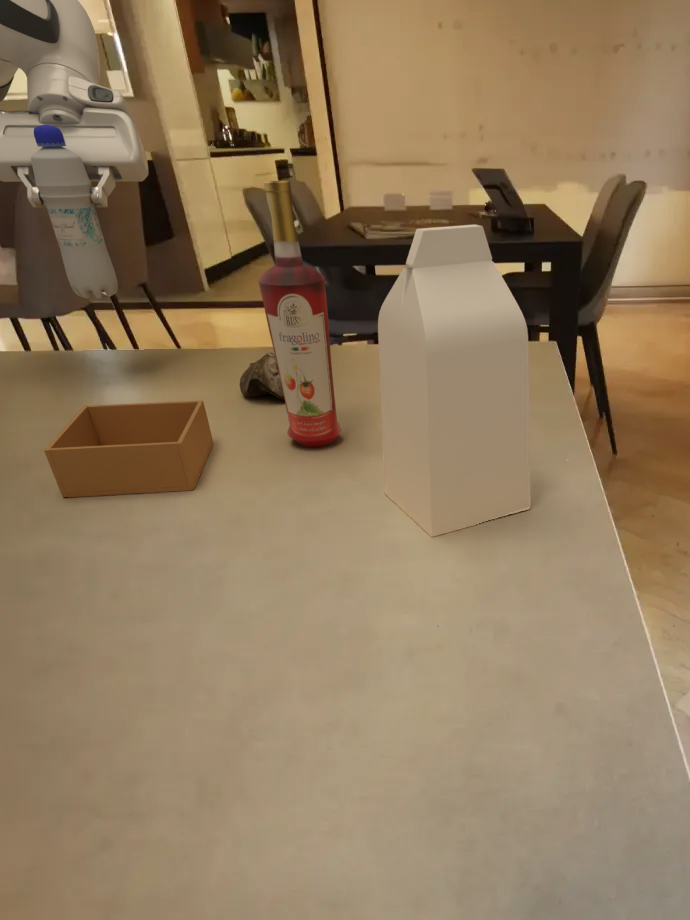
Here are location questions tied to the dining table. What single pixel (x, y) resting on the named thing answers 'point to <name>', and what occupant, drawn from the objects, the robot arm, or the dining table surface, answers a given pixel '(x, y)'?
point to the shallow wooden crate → (131, 449)
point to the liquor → (299, 328)
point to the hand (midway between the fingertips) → (68, 204)
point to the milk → (454, 385)
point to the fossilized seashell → (262, 378)
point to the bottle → (72, 214)
